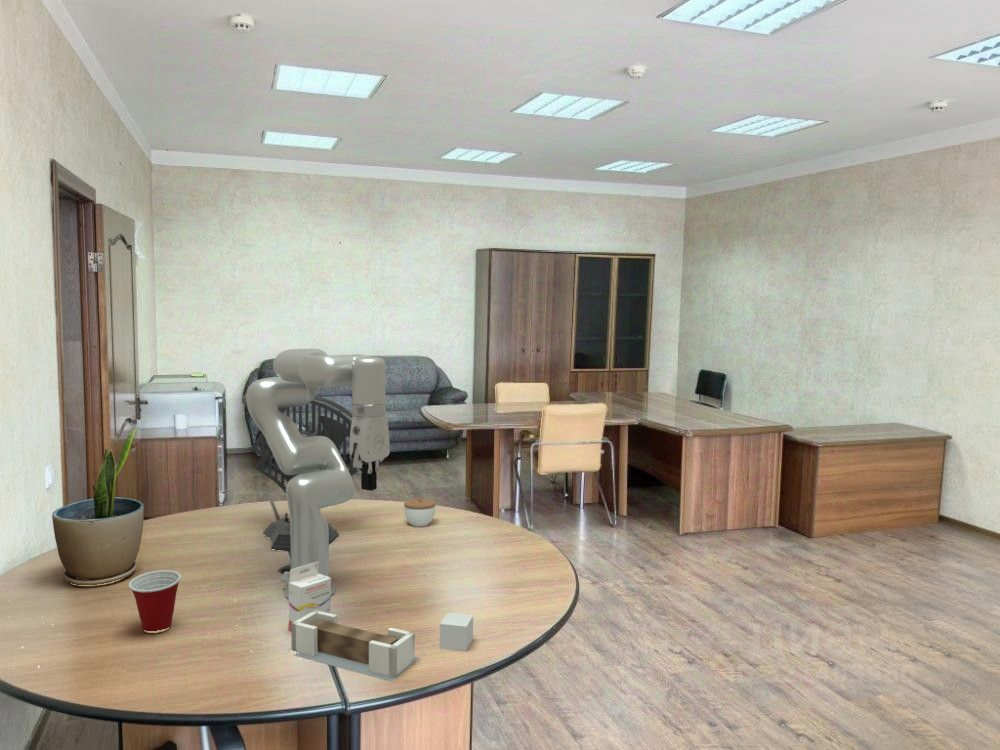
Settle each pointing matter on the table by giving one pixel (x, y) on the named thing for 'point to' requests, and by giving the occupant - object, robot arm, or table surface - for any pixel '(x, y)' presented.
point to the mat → (349, 664)
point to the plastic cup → (155, 598)
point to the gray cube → (456, 631)
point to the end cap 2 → (392, 653)
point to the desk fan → (281, 528)
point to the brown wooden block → (347, 641)
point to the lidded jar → (419, 511)
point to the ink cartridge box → (308, 592)
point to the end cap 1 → (308, 632)
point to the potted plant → (100, 529)
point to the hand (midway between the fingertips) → (368, 489)
